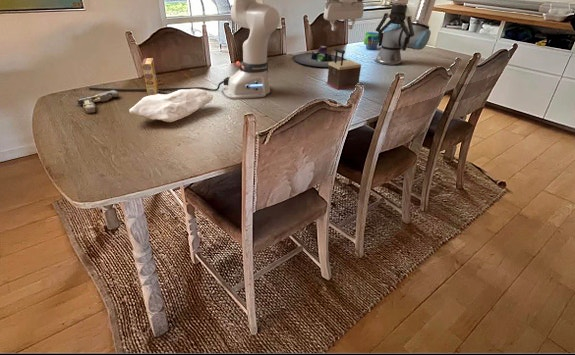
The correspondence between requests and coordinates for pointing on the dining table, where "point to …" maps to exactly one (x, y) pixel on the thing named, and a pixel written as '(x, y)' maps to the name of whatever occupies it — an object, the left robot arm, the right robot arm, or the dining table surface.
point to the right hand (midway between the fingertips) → (391, 48)
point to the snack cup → (371, 40)
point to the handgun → (95, 100)
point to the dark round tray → (316, 58)
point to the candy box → (150, 76)
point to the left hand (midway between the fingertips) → (341, 29)
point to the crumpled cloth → (171, 104)
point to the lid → (343, 62)
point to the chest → (343, 77)
